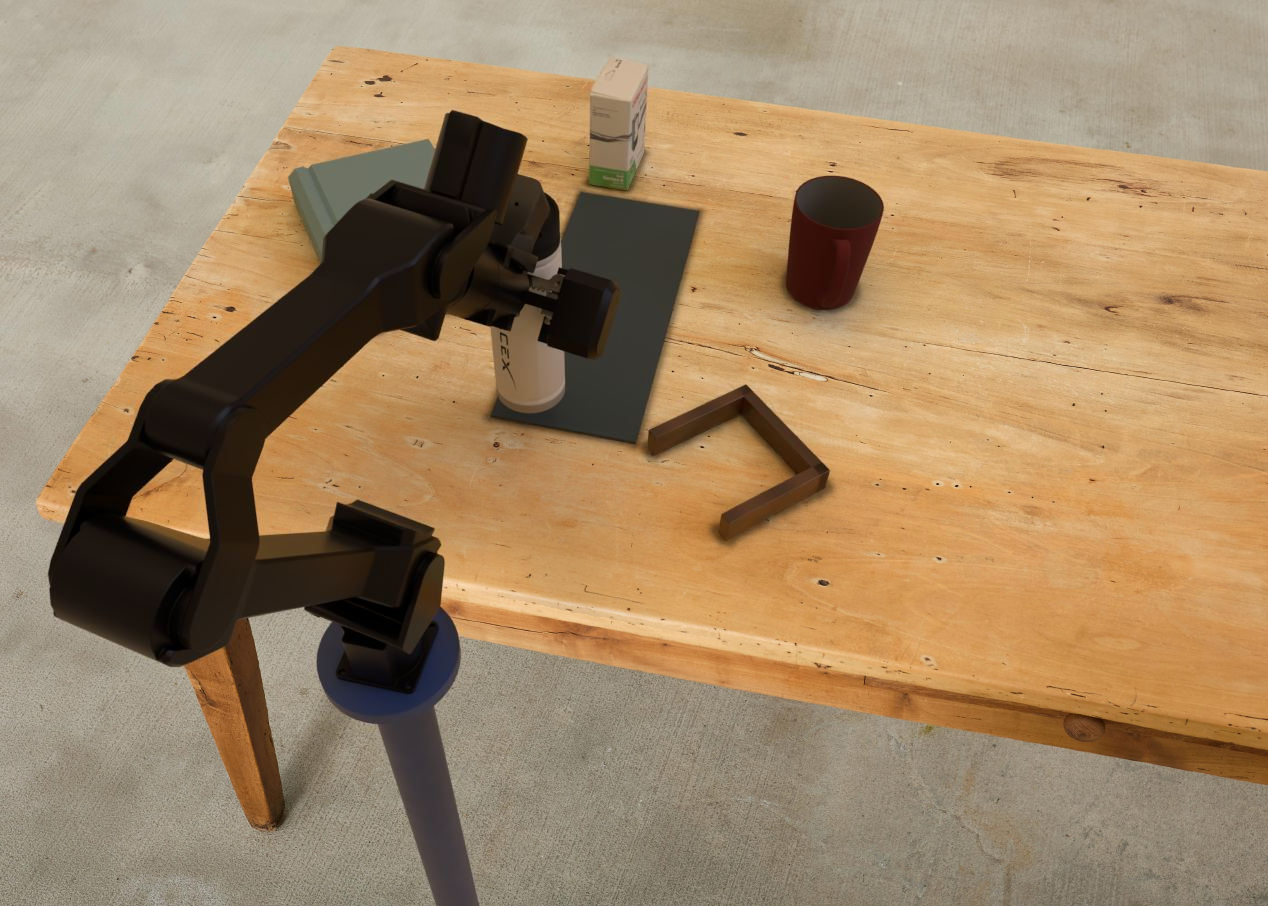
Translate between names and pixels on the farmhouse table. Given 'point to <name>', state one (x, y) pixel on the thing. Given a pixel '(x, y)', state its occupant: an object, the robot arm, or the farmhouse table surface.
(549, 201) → the travel mug
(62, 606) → the robot arm
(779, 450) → the u-shaped bracket
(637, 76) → the ink box
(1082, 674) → the farmhouse table surface
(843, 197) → the mug
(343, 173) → the book
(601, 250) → the desk mat
